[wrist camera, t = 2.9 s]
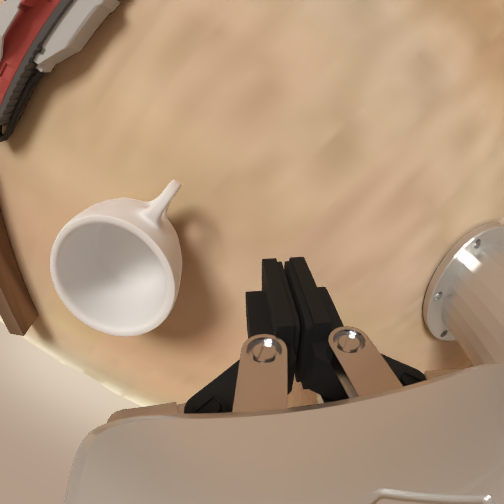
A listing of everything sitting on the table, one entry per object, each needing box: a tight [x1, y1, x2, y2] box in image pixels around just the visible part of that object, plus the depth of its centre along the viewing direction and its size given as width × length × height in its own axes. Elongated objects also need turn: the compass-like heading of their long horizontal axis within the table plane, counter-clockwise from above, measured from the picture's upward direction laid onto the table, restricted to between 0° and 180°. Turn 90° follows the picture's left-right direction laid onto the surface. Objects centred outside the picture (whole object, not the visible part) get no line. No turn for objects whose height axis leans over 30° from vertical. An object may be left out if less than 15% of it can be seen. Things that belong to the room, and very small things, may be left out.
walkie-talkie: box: [0, 0, 120, 142], centre depth 9 cm, size 9×4×20 cm
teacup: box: [50, 180, 182, 336], centre depth 17 cm, size 10×8×5 cm
